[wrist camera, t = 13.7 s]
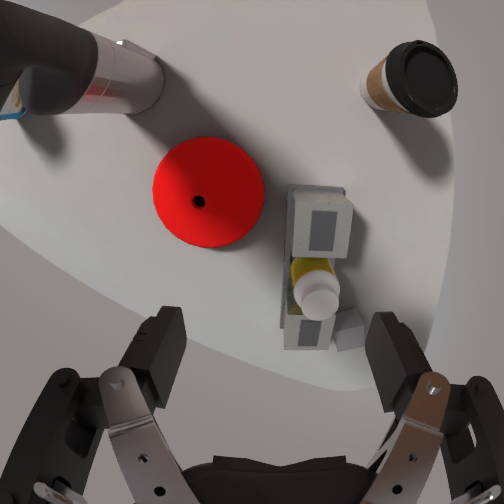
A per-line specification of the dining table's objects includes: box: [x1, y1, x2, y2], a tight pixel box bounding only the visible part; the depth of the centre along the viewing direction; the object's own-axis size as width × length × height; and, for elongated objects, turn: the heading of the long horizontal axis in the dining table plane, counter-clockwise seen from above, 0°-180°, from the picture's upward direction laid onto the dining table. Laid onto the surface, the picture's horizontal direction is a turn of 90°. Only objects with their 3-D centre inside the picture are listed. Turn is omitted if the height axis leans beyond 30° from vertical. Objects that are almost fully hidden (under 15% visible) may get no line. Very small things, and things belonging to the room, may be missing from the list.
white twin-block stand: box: [280, 184, 354, 350], centre depth 39 cm, size 24×8×8 cm, turn 0°
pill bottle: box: [290, 257, 340, 321], centre depth 37 cm, size 6×6×11 cm
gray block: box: [333, 308, 365, 352], centre depth 45 cm, size 5×5×5 cm
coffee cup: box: [360, 40, 458, 118], centre depth 24 cm, size 8×8×15 cm
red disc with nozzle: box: [152, 137, 264, 248], centre depth 36 cm, size 16×16×7 cm
